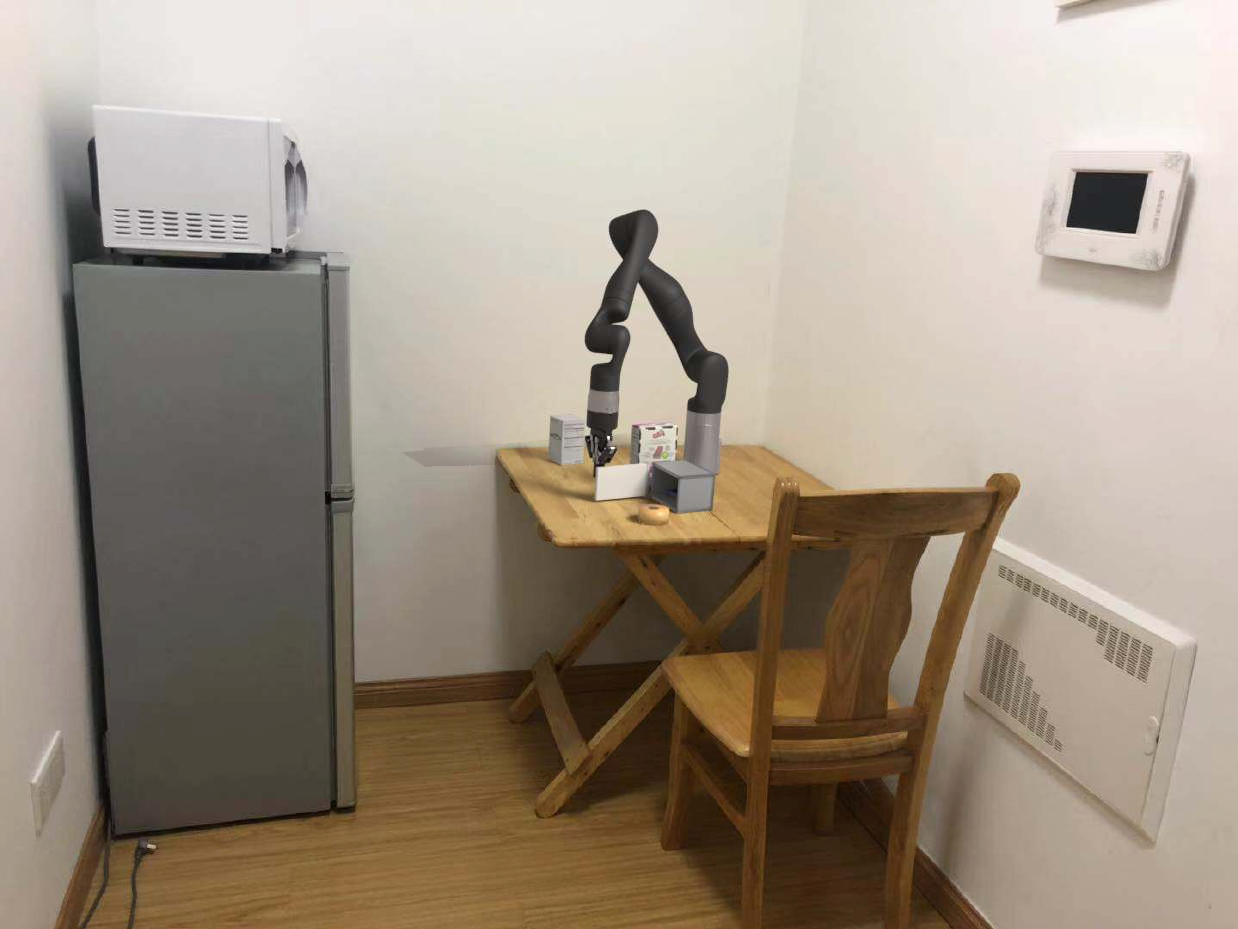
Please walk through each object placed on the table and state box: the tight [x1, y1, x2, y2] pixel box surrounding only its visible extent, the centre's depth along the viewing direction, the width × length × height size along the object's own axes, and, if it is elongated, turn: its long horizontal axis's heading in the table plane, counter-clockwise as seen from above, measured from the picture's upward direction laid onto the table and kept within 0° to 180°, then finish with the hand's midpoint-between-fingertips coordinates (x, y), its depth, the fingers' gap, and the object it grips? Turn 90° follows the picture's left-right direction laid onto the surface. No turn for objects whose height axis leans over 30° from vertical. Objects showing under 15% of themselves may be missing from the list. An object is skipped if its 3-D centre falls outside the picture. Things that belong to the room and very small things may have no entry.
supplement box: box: [547, 413, 586, 466], centre depth 273 cm, size 7×7×13 cm
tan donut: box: [637, 503, 670, 527], centre depth 226 cm, size 7×7×3 cm
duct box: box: [649, 459, 717, 514], centre depth 240 cm, size 10×14×9 cm
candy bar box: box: [629, 421, 679, 491], centre depth 252 cm, size 11×5×16 cm, turn 118°
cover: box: [593, 463, 651, 502], centre depth 240 cm, size 15×1×8 cm, turn 119°
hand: (598, 478), depth 240 cm, fingers closed
